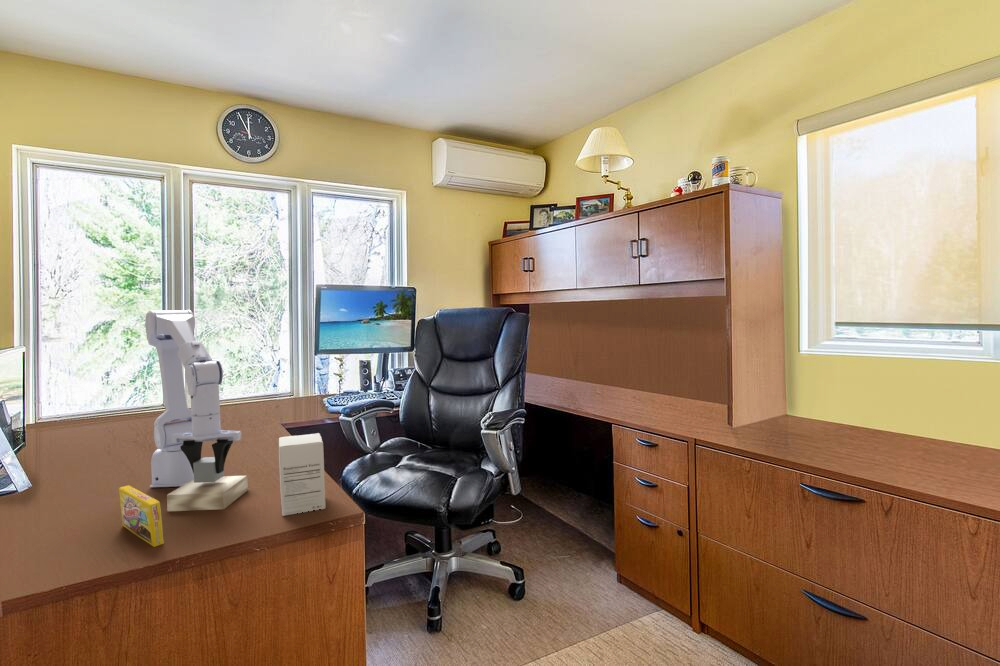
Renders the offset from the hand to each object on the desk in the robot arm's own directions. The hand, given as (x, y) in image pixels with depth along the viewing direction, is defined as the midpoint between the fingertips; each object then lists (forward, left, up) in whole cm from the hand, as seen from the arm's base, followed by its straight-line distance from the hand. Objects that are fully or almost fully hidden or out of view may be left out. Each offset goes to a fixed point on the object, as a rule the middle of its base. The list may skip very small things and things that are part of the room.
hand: (208, 472), depth 118 cm
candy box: (-4, -18, -7) cm, 20 cm away
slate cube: (0, 0, -2) cm, 2 cm away
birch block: (0, 0, -7) cm, 7 cm away
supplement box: (+23, -6, -7) cm, 25 cm away
